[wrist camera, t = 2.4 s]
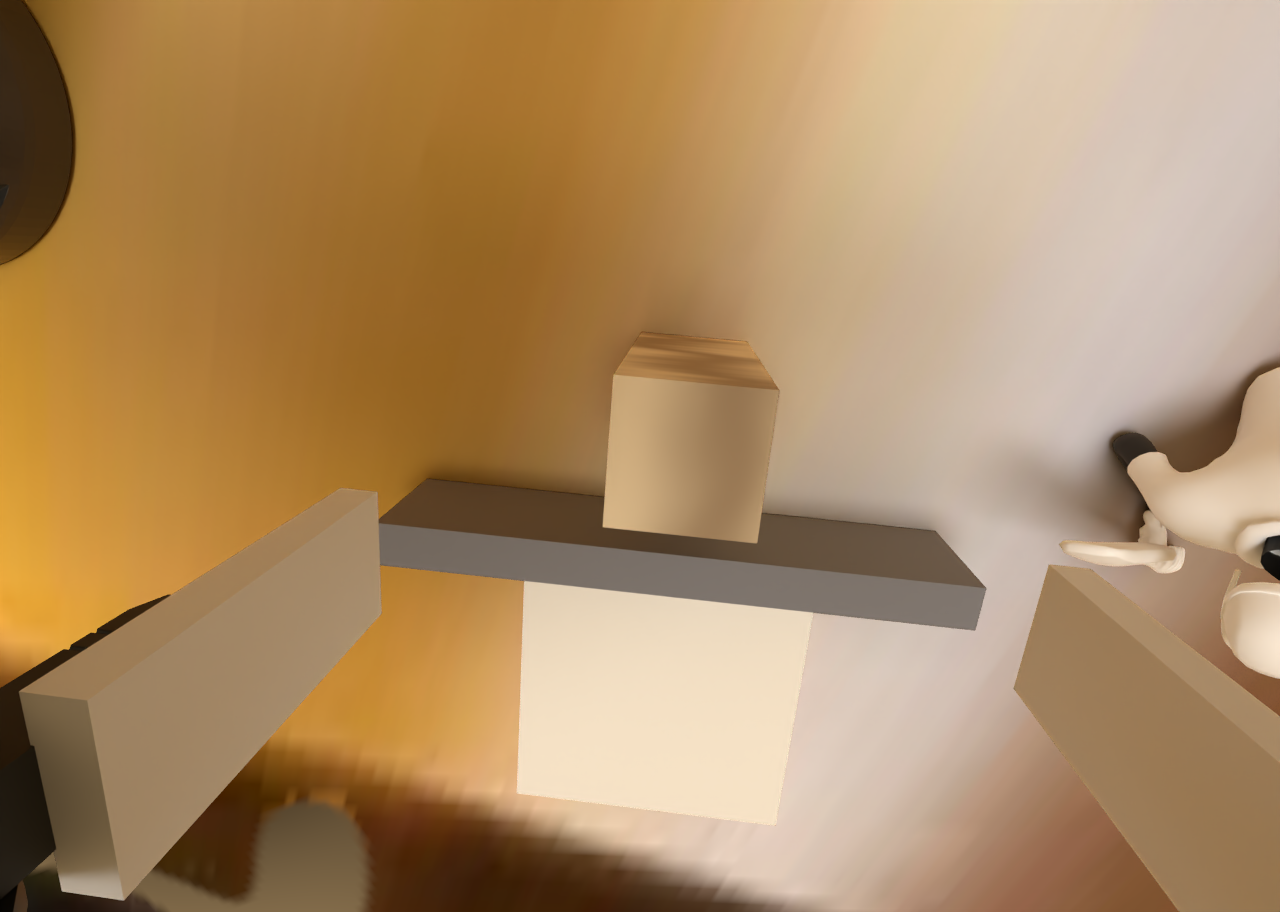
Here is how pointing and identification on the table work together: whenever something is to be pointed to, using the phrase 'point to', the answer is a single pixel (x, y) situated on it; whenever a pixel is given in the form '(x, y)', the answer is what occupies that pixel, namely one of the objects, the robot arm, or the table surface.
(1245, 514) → the cricket player figurine
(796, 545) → the grey plank
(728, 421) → the letter block
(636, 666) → the mat
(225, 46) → the table surface
